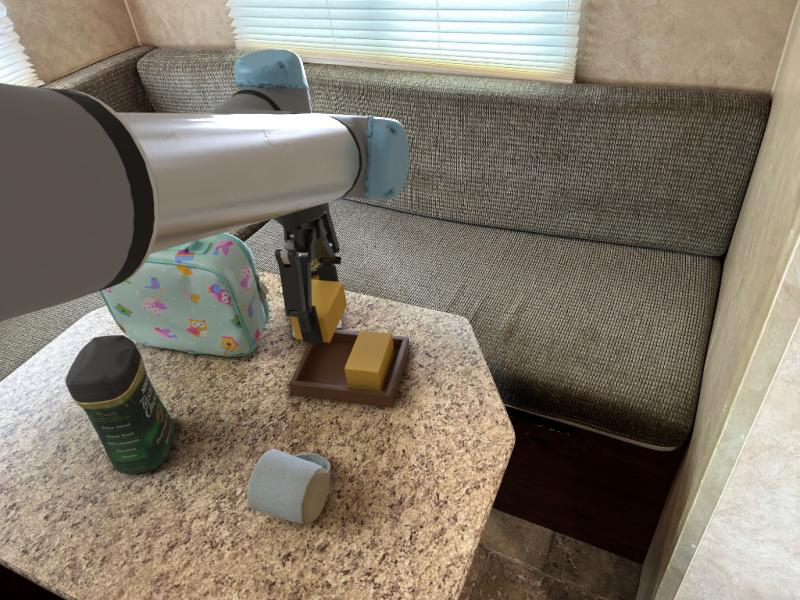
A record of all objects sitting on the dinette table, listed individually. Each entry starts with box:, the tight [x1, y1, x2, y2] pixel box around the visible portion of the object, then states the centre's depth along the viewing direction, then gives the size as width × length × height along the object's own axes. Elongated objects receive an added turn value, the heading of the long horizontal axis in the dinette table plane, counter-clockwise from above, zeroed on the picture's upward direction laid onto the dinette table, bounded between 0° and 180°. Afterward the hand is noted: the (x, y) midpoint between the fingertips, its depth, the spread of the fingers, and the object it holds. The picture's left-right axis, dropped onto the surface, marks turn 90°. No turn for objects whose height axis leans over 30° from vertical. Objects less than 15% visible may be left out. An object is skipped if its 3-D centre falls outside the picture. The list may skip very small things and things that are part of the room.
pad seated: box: [345, 329, 395, 391], centre depth 92 cm, size 8×5×4 cm, turn 167°
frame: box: [288, 329, 411, 409], centre depth 94 cm, size 13×16×3 cm
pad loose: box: [289, 280, 348, 343], centre depth 88 cm, size 8×5×4 cm, turn 167°
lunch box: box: [98, 232, 270, 358], centre depth 97 cm, size 27×10×21 cm, turn 76°
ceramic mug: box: [246, 448, 331, 525], centre depth 76 cm, size 11×8×8 cm
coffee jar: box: [64, 334, 176, 475], centre depth 80 cm, size 10×8×19 cm
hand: (323, 320), depth 89 cm, fingers closed on pad loose, 8 cm apart
